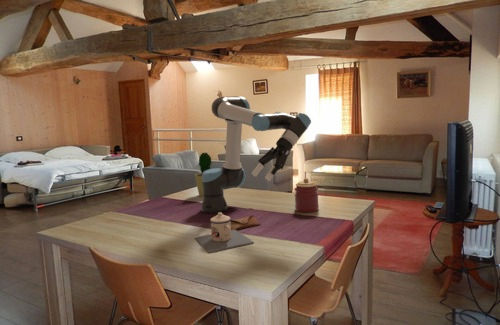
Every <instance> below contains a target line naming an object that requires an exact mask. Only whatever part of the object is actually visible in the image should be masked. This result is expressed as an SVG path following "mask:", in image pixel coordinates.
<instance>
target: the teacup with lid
mask: <svg viewBox="0 0 500 325" xmlns="http://www.w3.org/2000/svg"><path fill="white" fill-rule="evenodd" d="M231 220H232V219H231V217H230V216H228V215H225V214H223V213H222V212H218V213H217V215H215V216H213V217H211V218H210V220H209V222H210V230H211V231H210V232H211V234H212V240H213V241H217V242H223V241H227V240H230V239H231V223H230V221H231Z"/></svg>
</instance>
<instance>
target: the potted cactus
mask: <svg viewBox="0 0 500 325" xmlns="http://www.w3.org/2000/svg"><path fill="white" fill-rule="evenodd" d="M198 165H199V166H198V167H199V168H200V172H199V173H196V174H194V177H195V178H194V180H195V182H196V188H197V192H198V195H199V198H203V183H202V174H203V172H204V171H206V170H209V169H212V168H211V166H212V156H211V155H210V154H209V153H208V152H201V154H200V155H199V157H198Z"/></svg>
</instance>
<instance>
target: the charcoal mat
mask: <svg viewBox="0 0 500 325" xmlns="http://www.w3.org/2000/svg"><path fill="white" fill-rule="evenodd" d="M194 240H195V241H196V242H197V243H198V244H199V245H200V246H202V248H203V249H204V250H206V251H207V252H208V254H211V253H217V252H221V251H225V250H229V249H235V248H239V247H244V246H248V245H252V244H254V243H255V242H254V241H253V240H251V239H250V238H248V237H247V236H246V235H244V234H243V233H241V232H239V230H231V239H230V240H227V241H223V242H217V241H213V240H212V233H211V234H206V235H201V236H196V237H194Z"/></svg>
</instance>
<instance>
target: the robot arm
mask: <svg viewBox="0 0 500 325" xmlns="http://www.w3.org/2000/svg"><path fill="white" fill-rule="evenodd" d="M211 113H212V114H213V115H214V117H215V118H216V117H217V118H218V119H221V120H224V121H225V122H226V138H225V159H224V162H223V164H222V165H221V166H222V167H221V168H220V167H218V168H217V167H214V168H211V169H209V170H206V171H204V172H203V174H202V183H203V197H202V201H201V206H200V208H201V212H202V213H205V214H216V213H217V214H218V213H222V212H225V211H228V209H229V208H228V203H227V201H226V198H225V195H224V190H230V189H235V188H238V187H241V186H242V185H244V184H245V180H246V175H247V174H246V173H245V168H243V165H242V164H241V150H242V147H241V146H242V132H243V130H242V129H243V124H244V125H246V126H249V127H252V129H253V130H255V131H257V132H265V131H272V130H284V132H282V134H281V135H280V137H279V138H278V139H277V141H276V143H275V145H276V147H275V148H274V147H273V146H272V147H271V148H270V149H269V150H268V151H267V152H266V153H265V154H264V155H262V156H261V157H260V158H259V159H257V161H258V164H257V166H255V168H254V169H253V170H252V172H251V174H252V176H254V177H255V178H256V177H257V176H258V175H259V173H260V172H261V171H262V170H263V168H265V165H266V164H268V163H269V162H271V161H272V160H275V163H274V164H273V165H272V167H271V168H270V170H269V171H268V172H267V173H266V175H265V176H264V179H265V180H266V181H267V182H270V181H271V180H273V177H274V176H275V174H277V172H278V171H279V170H280V169H281V170H283V169H284V166H285V164H286V162H287V159H288V157H289V155H290V154H291V150H292V149H293V148H294V147H295V145H296V144H297V142H298V140H300V138H301V137H302V136H303V135H304V133H305V132H306V131H307V130H308V129H309V127H310V125H311V123H312V119H311V118H310V117H309V116H308V114H306V113H304V112H299V113H297V114H296V115H293V114H288V113H286V112H284V111H280V110H279V111H275V112H274V113H262V112H259V111H256V110H252V109H251V106H250V103H249V101H248V99H247V98H245V97H244V96H239V95H236V96H234V95H232V96H220V97H217V98H215V99H214V101H212V104H211Z"/></svg>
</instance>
